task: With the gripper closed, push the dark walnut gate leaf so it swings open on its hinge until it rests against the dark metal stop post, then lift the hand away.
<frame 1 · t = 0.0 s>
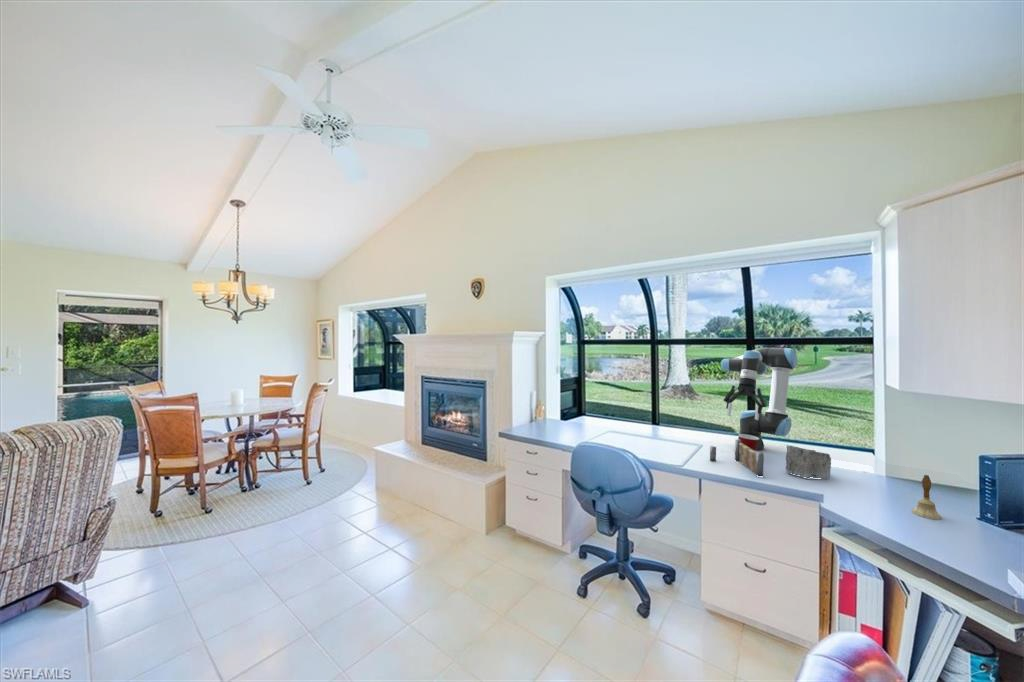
hand: (742, 417, 205), 28 cm above the table, tool tilted 20°, fingers open, 13 cm apart
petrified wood: (807, 475, 198), on the table
gate: (748, 457, 206), point 6 cm above the table, hinge at 0.0°
plastic cup: (748, 456, 228), on the table
hand bell: (926, 515, 155), on the table
gate frame: (739, 461, 217), on the table
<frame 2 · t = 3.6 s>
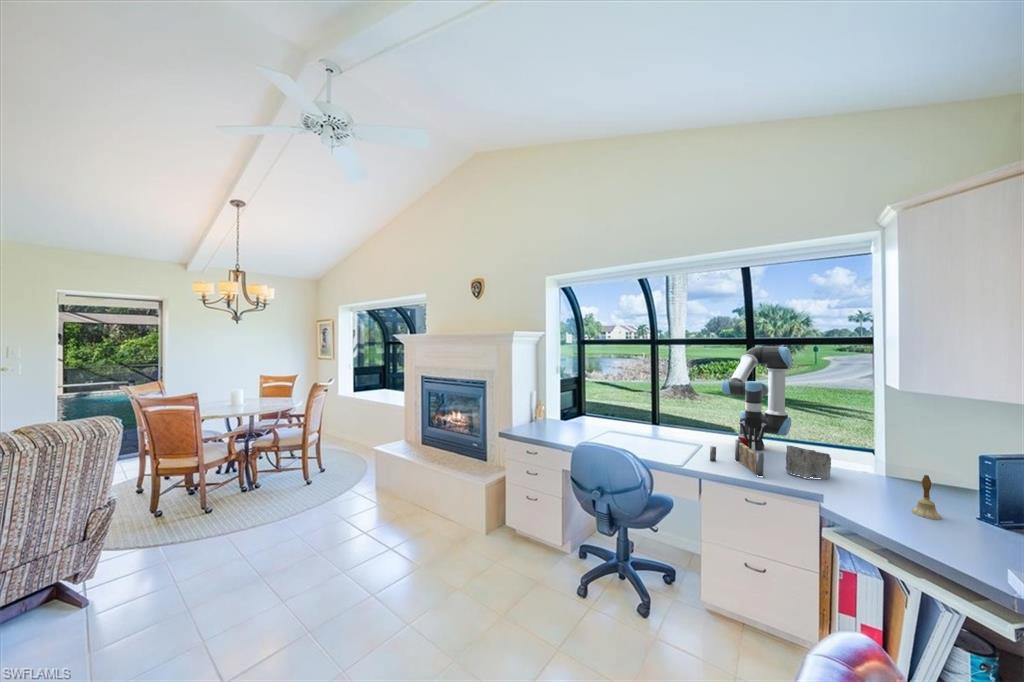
hand: (752, 454, 205), 8 cm above the table, tool pointing down, fingers closed
gate: (748, 457, 206), point 6 cm above the table, hinge at 1.0°, touching gripper
everything else where it was.
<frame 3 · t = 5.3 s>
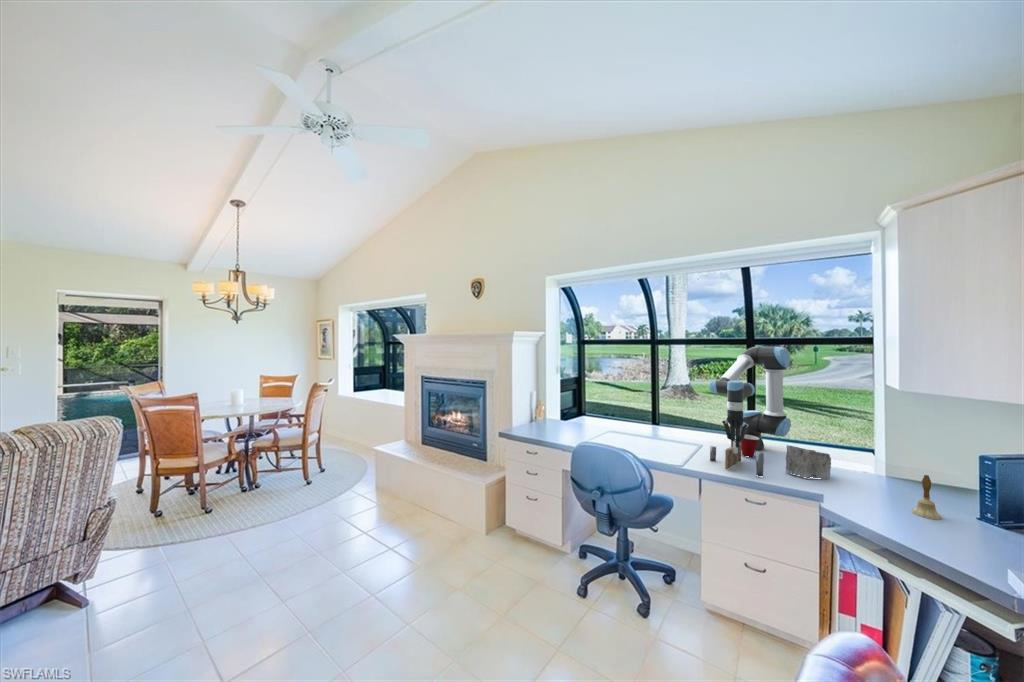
hand: (735, 453, 208), 8 cm above the table, tool pointing down, fingers closed
gate: (733, 455, 210), point 6 cm above the table, hinge at 40.2°, touching gripper
everything else where it was.
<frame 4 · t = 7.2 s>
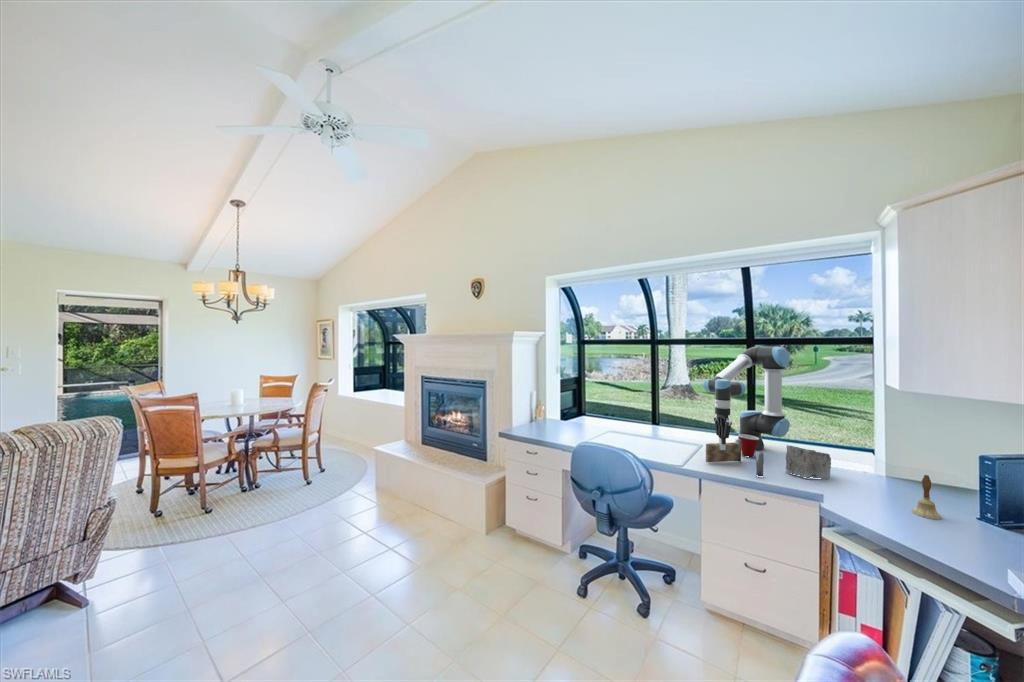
hand: (722, 449, 214), 8 cm above the table, tool pointing down, fingers closed
gate: (722, 452, 215), point 6 cm above the table, hinge at 74.0°, touching gripper
everything else where it was.
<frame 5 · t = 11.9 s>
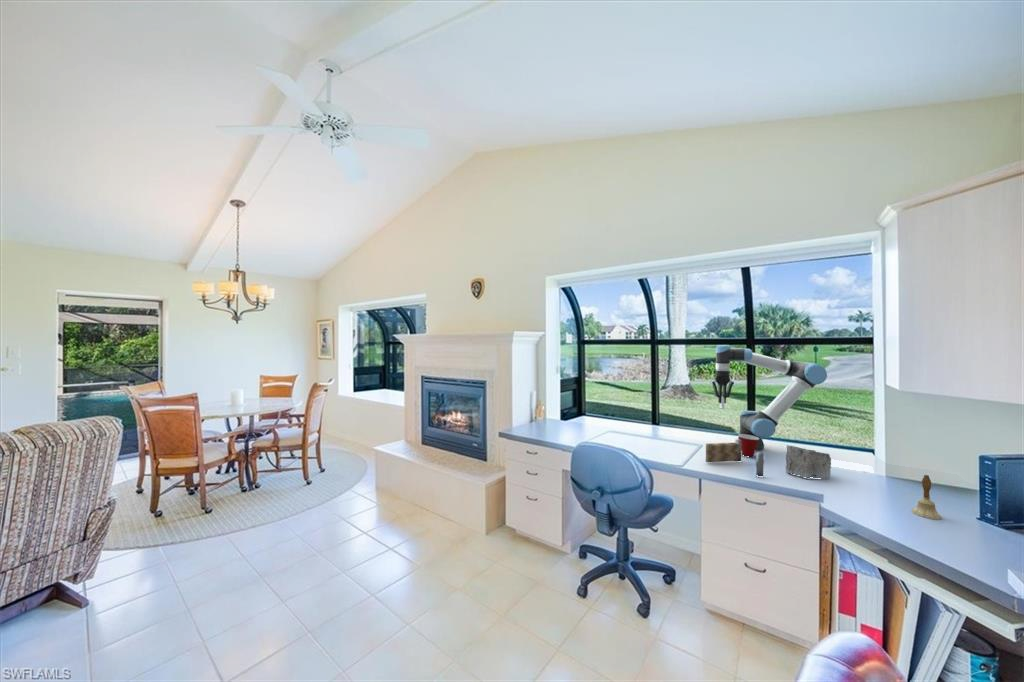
hand: (722, 408, 237), 26 cm above the table, tool pointing down, fingers closed
gate: (722, 452, 215), point 6 cm above the table, hinge at 74.1°
everything else where it was.
at the end: gate at +74° (first picture: +0°); plastic cup moved 0.2 cm from its start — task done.
